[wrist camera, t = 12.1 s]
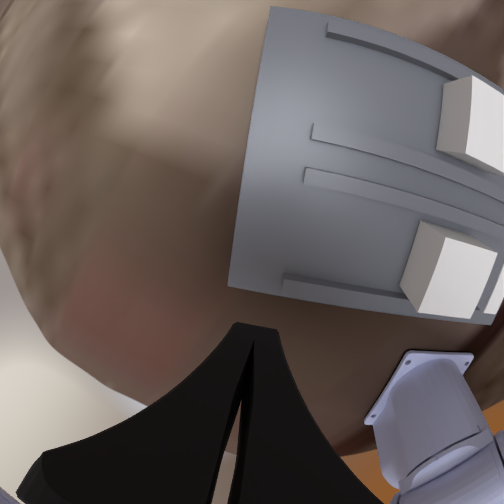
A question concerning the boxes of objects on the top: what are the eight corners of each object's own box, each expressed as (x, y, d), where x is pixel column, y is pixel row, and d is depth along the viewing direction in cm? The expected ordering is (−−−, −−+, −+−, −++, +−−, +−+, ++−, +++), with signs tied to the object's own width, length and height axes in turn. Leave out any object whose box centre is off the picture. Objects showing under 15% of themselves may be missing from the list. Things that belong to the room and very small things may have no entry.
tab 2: (448, 294, 15) (470, 318, 12) (399, 285, 15) (417, 312, 12) (470, 235, 13) (497, 252, 11) (420, 220, 14) (445, 237, 11)
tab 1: (485, 172, 12) (516, 180, 9) (435, 150, 12) (465, 153, 9) (493, 110, 10) (523, 109, 8) (443, 84, 11) (472, 75, 8)
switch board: (479, 312, 17) (495, 330, 15) (233, 271, 18) (224, 292, 16) (528, 121, 11) (551, 122, 9) (272, 20, 12) (269, -1, 10)
